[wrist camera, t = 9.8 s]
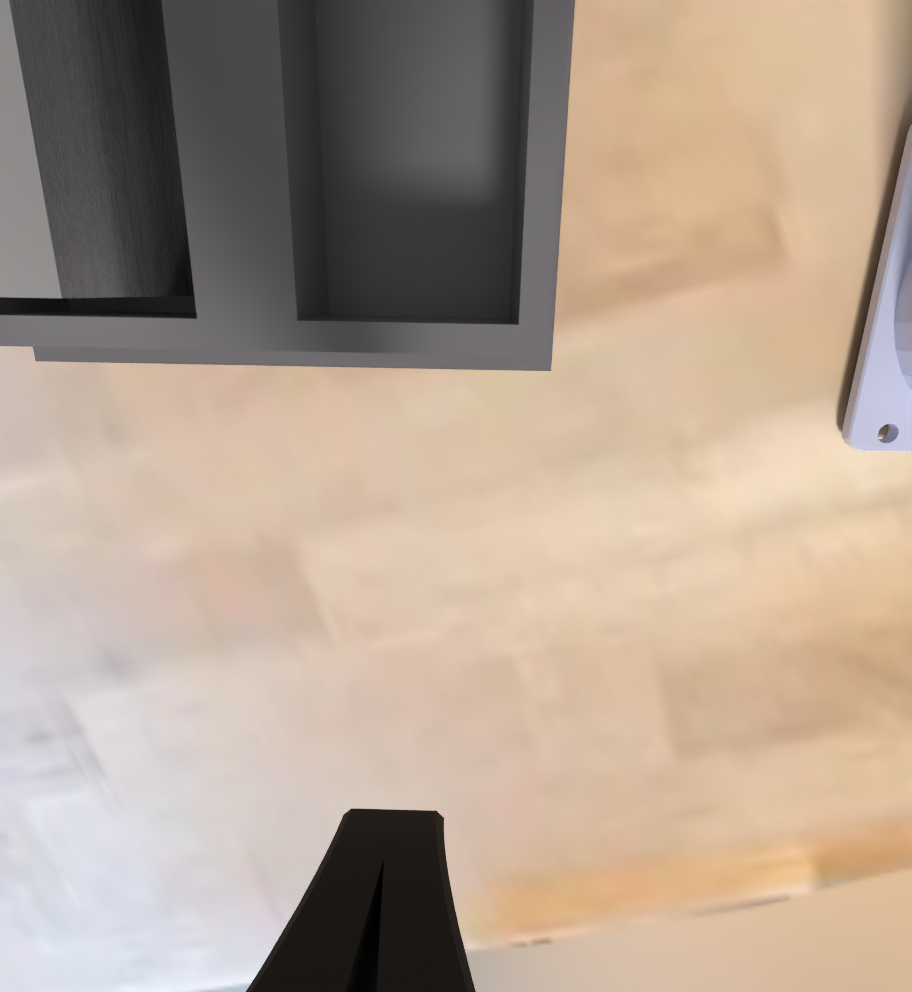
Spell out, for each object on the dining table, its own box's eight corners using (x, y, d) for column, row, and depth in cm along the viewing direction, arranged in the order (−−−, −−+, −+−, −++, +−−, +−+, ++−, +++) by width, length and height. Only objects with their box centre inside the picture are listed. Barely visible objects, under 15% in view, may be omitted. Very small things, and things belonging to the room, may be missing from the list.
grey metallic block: (173, -122, 12) (-75, -468, 7) (216, 295, 15) (61, 298, 9) (26, -123, 12) (-344, -469, 7) (93, 293, 15) (-136, 294, 9)
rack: (583, -231, 13) (633, -457, 9) (545, 366, 16) (569, 389, 13) (-49, -236, 13) (-268, -461, 9) (60, 356, 16) (-61, 376, 13)
